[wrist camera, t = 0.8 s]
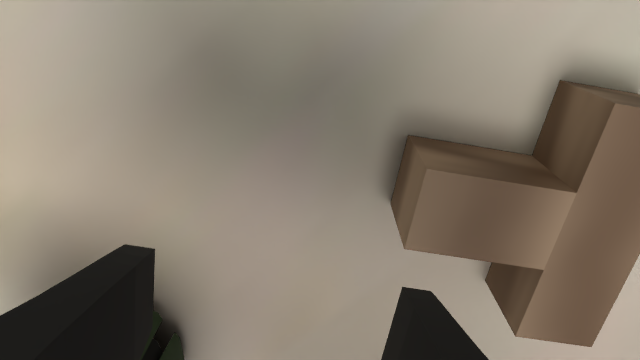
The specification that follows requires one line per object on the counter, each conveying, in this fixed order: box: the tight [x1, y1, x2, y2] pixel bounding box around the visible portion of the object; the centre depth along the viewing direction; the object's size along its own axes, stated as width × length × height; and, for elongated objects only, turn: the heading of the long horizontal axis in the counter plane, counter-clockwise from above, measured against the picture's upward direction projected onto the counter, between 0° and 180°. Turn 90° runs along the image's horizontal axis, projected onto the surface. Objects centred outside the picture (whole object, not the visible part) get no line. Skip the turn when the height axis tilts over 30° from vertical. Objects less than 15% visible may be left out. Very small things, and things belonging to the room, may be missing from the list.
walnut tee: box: [391, 80, 640, 347], centre depth 17 cm, size 8×9×4 cm
